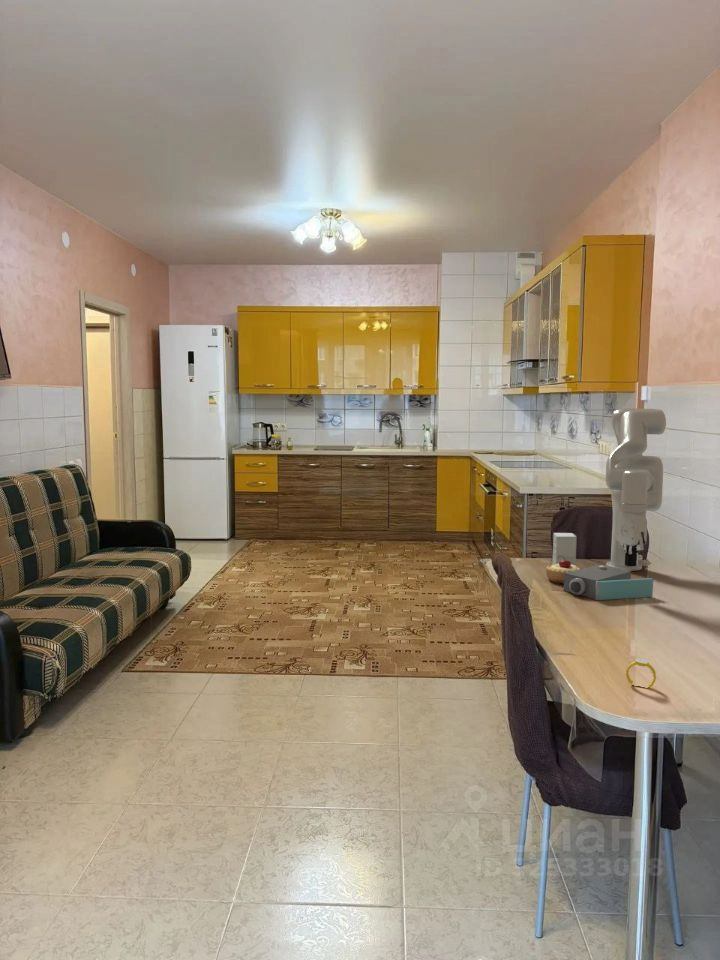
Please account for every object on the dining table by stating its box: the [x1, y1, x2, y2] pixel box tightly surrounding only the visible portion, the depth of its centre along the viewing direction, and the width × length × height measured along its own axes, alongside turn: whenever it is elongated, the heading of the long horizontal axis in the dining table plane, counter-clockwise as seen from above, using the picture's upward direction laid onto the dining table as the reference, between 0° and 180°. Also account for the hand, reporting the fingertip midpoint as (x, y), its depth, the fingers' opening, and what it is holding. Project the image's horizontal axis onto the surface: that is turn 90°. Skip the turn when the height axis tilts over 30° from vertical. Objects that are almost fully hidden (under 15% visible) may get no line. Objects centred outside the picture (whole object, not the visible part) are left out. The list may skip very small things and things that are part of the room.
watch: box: [625, 658, 657, 688], centre depth 152 cm, size 6×3×6 cm, turn 64°
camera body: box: [563, 564, 632, 599], centre depth 229 cm, size 22×12×7 cm, turn 128°
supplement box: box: [552, 532, 578, 566], centre depth 261 cm, size 7×7×13 cm
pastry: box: [545, 556, 581, 585], centre depth 241 cm, size 12×12×9 cm
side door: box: [594, 577, 654, 601], centre depth 220 cm, size 20×1×6 cm, turn 103°
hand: (630, 565), depth 222 cm, fingers closed
